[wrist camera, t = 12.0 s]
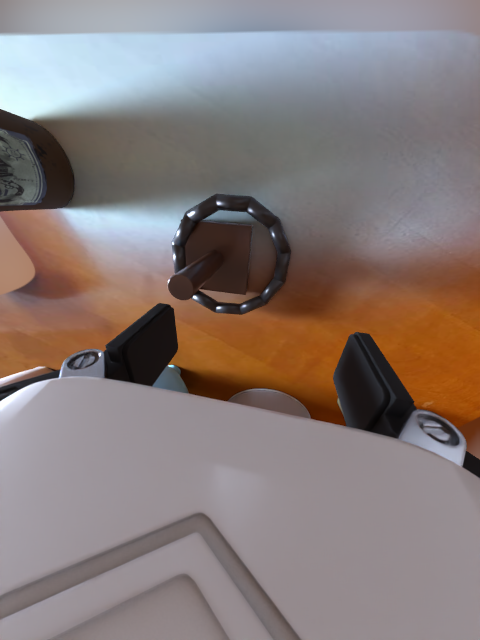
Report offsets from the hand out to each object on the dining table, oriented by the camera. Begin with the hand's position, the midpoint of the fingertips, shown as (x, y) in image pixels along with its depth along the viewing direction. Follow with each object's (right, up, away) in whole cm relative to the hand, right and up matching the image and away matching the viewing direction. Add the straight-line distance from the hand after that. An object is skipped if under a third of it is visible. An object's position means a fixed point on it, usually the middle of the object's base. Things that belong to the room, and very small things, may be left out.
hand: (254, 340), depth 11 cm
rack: (-4, +10, +18) cm, 21 cm away
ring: (-2, +9, +16) cm, 18 cm away
